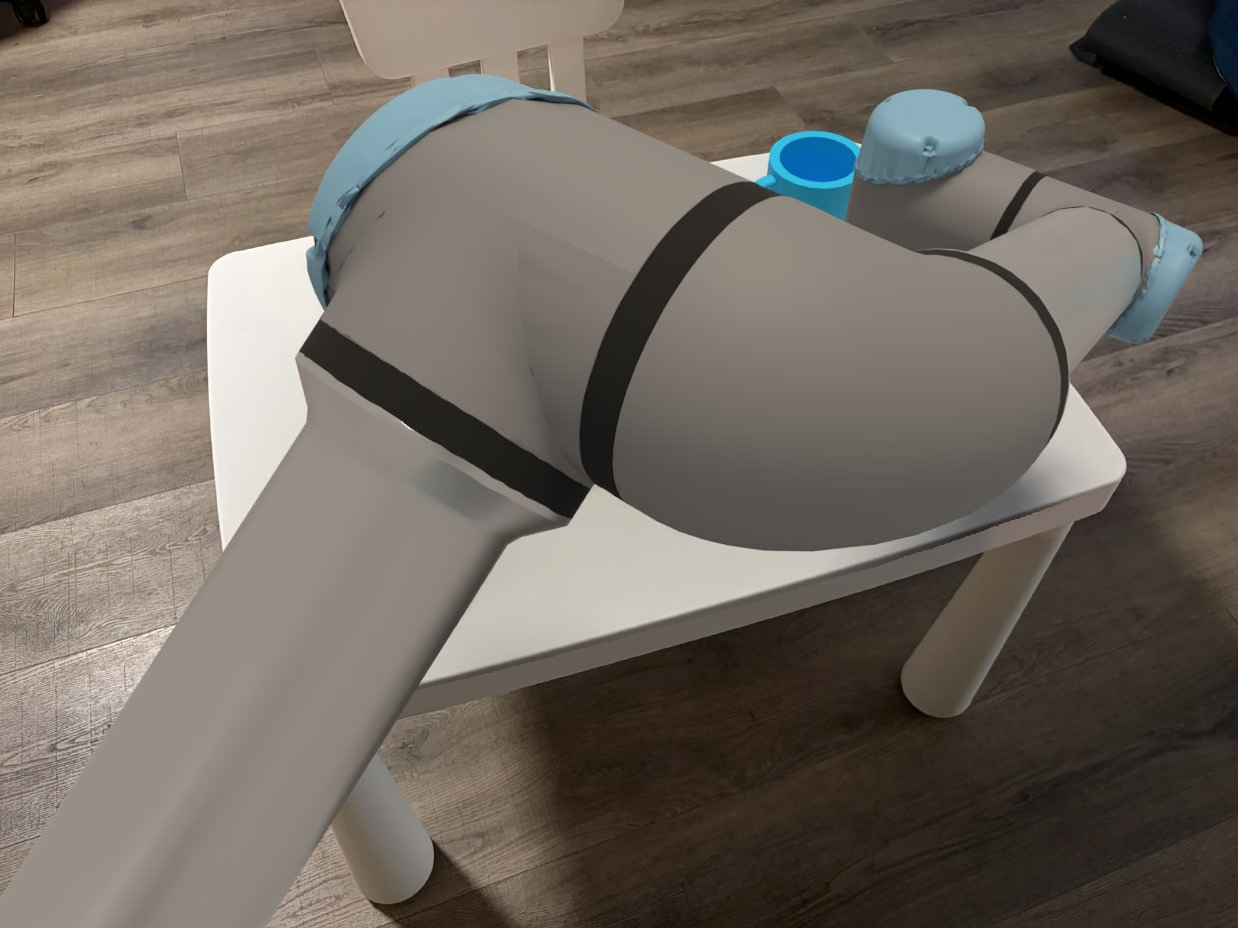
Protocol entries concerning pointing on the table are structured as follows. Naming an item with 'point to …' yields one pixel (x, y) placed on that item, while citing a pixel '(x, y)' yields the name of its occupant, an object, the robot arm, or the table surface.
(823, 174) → the mug
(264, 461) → the table surface
